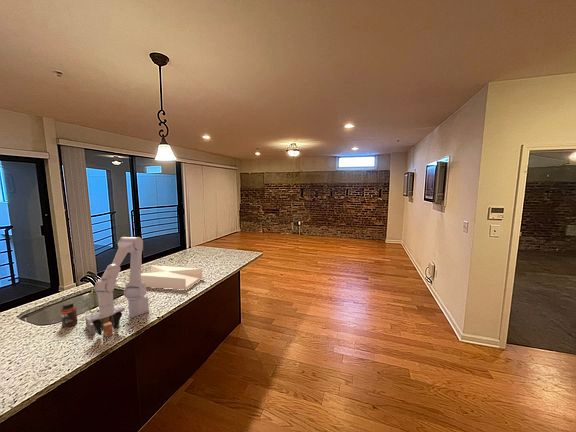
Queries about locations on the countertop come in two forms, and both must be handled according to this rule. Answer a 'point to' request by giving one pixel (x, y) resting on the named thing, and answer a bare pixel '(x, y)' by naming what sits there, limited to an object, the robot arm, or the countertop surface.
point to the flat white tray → (171, 277)
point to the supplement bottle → (68, 314)
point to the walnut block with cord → (106, 326)
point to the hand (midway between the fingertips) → (108, 330)
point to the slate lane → (91, 326)
